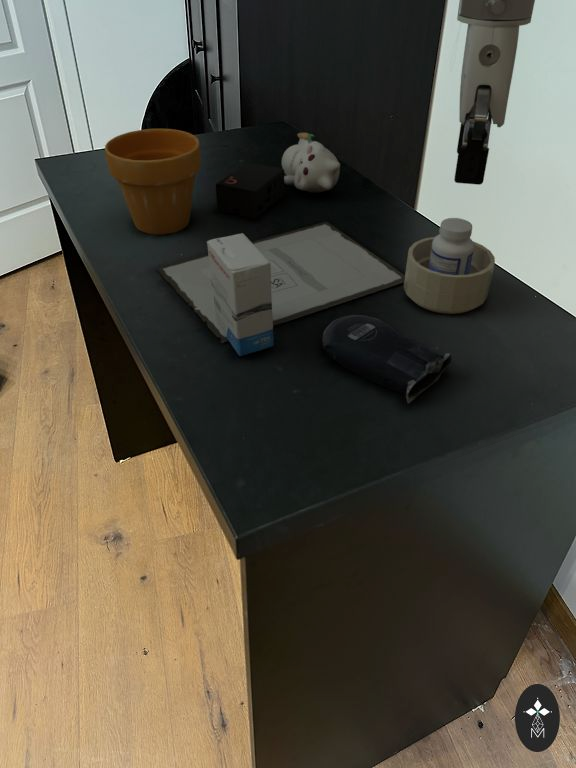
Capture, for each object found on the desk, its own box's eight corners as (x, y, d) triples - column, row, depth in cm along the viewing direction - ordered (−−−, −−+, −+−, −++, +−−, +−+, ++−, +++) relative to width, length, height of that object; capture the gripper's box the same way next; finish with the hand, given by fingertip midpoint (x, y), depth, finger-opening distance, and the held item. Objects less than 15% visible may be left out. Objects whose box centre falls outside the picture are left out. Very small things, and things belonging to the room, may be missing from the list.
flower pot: (219, 232, 105) (213, 151, 96) (132, 250, 100) (118, 166, 92) (189, 199, 115) (181, 123, 106) (109, 214, 110) (94, 136, 102)
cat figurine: (283, 123, 118) (330, 137, 107) (315, 140, 123) (364, 155, 112) (262, 174, 120) (307, 193, 109) (295, 189, 125) (341, 208, 114)
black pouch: (450, 377, 78) (355, 315, 85) (460, 345, 74) (359, 282, 80) (402, 422, 74) (306, 353, 80) (410, 391, 70) (307, 321, 76)
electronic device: (284, 196, 116) (284, 168, 112) (256, 220, 108) (255, 191, 105) (247, 189, 118) (246, 161, 115) (217, 211, 111) (215, 183, 107)
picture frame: (221, 344, 81) (411, 280, 93) (221, 342, 81) (411, 278, 93) (154, 268, 95) (326, 222, 107) (154, 267, 95) (326, 220, 107)
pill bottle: (449, 276, 92) (460, 211, 86) (473, 294, 89) (487, 228, 82) (417, 285, 90) (426, 219, 84) (440, 304, 87) (452, 237, 81)
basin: (485, 279, 93) (494, 240, 90) (486, 321, 85) (495, 281, 81) (407, 270, 95) (412, 232, 92) (399, 311, 87) (404, 271, 83)
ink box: (275, 348, 80) (274, 262, 72) (236, 358, 78) (231, 272, 71) (248, 312, 86) (245, 230, 78) (212, 321, 84) (205, 238, 77)
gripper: (539, 21, 61) (502, 198, 71) (529, -7, 74) (499, 146, 84) (456, 18, 62) (433, 192, 73) (461, -9, 75) (440, 142, 86)
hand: (468, 167), depth 78 cm, fingers open, 9 cm apart
